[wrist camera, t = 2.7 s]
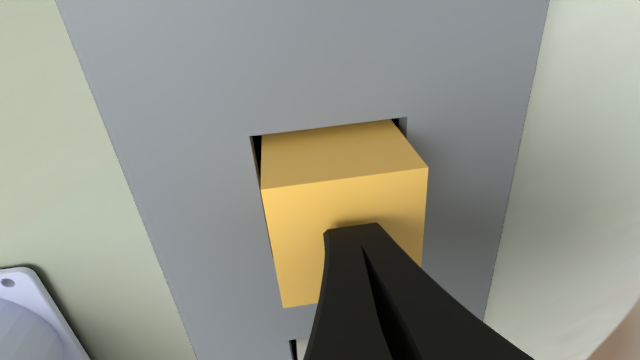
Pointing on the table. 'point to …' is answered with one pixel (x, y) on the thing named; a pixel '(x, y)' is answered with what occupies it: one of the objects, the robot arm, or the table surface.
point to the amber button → (337, 195)
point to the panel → (299, 114)
